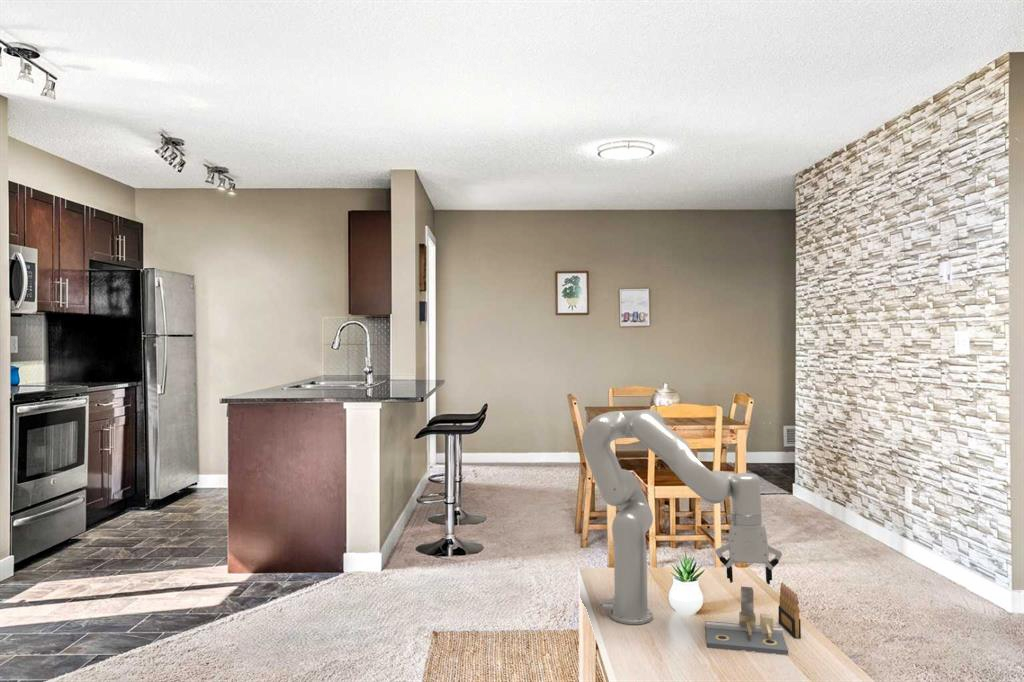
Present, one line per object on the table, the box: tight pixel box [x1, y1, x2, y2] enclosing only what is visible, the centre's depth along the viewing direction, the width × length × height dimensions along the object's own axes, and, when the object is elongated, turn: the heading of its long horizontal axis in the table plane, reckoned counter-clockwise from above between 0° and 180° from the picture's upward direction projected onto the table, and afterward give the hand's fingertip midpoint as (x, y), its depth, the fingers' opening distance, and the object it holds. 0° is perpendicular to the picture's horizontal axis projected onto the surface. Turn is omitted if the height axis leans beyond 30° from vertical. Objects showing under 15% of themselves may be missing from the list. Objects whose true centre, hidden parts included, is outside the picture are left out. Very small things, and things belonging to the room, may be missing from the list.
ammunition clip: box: [777, 581, 802, 639], centre depth 192 cm, size 11×2×12 cm, turn 1°
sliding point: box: [738, 586, 757, 638], centre depth 186 cm, size 4×9×10 cm, turn 166°
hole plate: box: [705, 612, 789, 655], centre depth 186 cm, size 20×15×6 cm
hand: (749, 581), depth 189 cm, fingers open, 9 cm apart
